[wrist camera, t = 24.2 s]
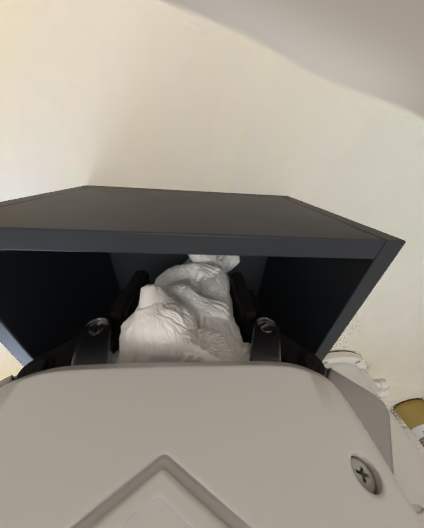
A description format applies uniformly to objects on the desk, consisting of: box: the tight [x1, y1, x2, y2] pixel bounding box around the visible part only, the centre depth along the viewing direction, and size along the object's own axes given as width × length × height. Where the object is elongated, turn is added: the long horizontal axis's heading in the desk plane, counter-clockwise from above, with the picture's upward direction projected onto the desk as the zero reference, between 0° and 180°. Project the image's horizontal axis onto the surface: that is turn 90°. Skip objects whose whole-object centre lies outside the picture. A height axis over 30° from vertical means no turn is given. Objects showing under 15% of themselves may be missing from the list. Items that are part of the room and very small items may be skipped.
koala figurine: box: [112, 254, 251, 364], centre depth 10 cm, size 8×7×12 cm
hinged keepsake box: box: [0, 185, 406, 366], centre depth 13 cm, size 14×17×10 cm
